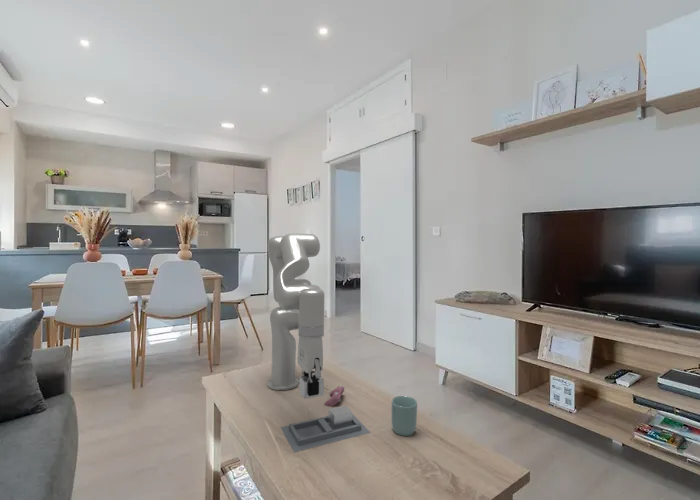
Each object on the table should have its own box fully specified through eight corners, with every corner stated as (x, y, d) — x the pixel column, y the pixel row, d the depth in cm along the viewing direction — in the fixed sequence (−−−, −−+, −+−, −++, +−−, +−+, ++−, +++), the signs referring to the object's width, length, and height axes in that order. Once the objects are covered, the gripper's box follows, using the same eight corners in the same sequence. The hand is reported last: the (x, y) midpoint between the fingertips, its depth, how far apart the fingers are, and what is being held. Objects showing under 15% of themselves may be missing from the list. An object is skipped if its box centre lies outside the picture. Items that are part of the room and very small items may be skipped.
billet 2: (328, 424, 110) (328, 409, 110) (345, 420, 113) (345, 405, 112) (334, 432, 106) (334, 415, 106) (351, 427, 109) (352, 411, 108)
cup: (418, 429, 110) (419, 398, 110) (414, 442, 103) (415, 409, 103) (393, 424, 113) (394, 394, 112) (388, 437, 105) (389, 404, 105)
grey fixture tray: (280, 430, 108) (280, 422, 108) (350, 414, 119) (350, 407, 119) (293, 455, 96) (293, 446, 95) (370, 435, 106) (370, 427, 106)
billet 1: (299, 392, 105) (299, 376, 105) (318, 389, 108) (318, 373, 108) (304, 399, 101) (304, 382, 101) (323, 395, 104) (323, 378, 104)
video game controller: (333, 414, 122) (342, 397, 121) (322, 407, 123) (331, 390, 122) (339, 401, 132) (348, 385, 131) (329, 394, 132) (337, 379, 131)
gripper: (290, 325, 110) (290, 382, 110) (308, 339, 95) (307, 406, 95) (313, 323, 113) (312, 379, 114) (334, 336, 98) (333, 400, 98)
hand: (310, 390), depth 104 cm, fingers closed on billet 1, 4 cm apart
